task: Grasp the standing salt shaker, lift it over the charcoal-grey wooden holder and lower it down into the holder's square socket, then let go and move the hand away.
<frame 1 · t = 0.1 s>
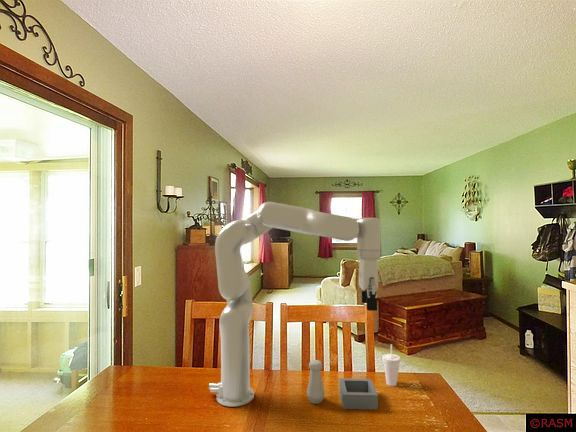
hand: (369, 306, 115), 31 cm above the table, tool pointing down, fingers open, 9 cm apart
socket holder: (357, 400, 115), on the table
salt shaker: (315, 401, 115), on the table
smoothie: (391, 384, 126), on the table
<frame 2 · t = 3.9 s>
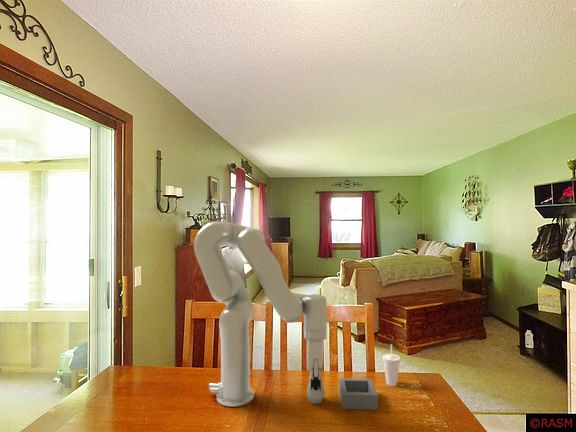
hand: (315, 387, 115), 4 cm above the table, tool pointing down, fingers closed on salt shaker, 3 cm apart
salt shaker: (315, 401, 115), on the table, touching gripper
everything else where it was.
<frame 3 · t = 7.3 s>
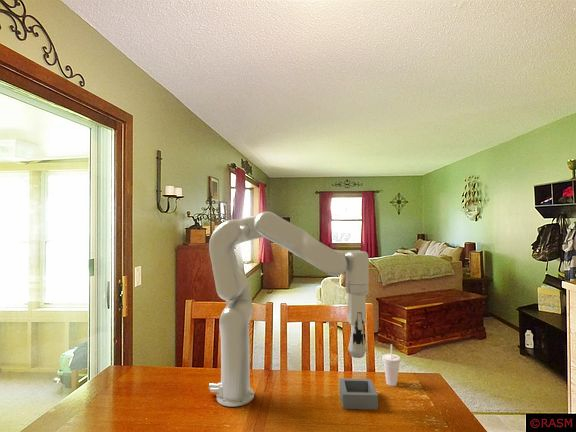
hand: (357, 343, 115), 19 cm above the table, tool pointing down, fingers closed on salt shaker, 3 cm apart
salt shaker: (357, 356, 115), point 15 cm above the table, touching gripper
everything else where it was.
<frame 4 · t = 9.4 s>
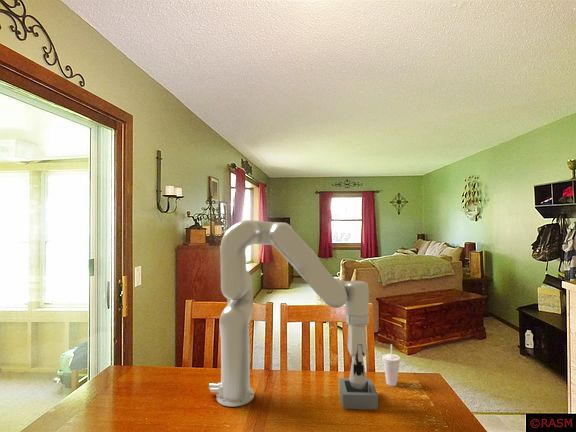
hand: (357, 373, 115), 9 cm above the table, tool pointing down, fingers closed on salt shaker, 3 cm apart
salt shaker: (357, 386, 115), point 4 cm above the table, touching gripper
everything else where it was.
when the fingers open (7 cm above the table, at t = 11.0 s): salt shaker drops 1 cm, resting on socket holder.
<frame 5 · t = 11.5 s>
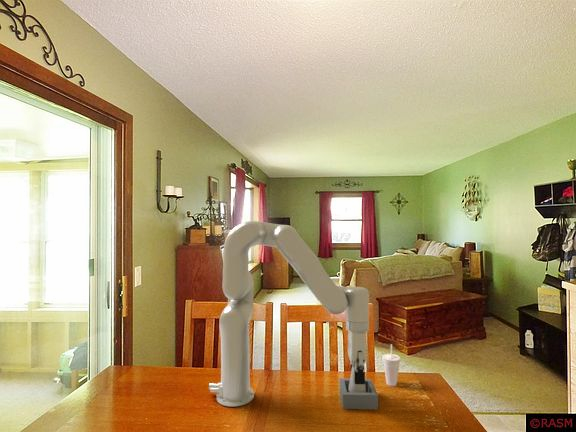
hand: (357, 377, 115), 8 cm above the table, tool pointing down, fingers open, 8 cm apart
salt shaker: (357, 397, 115), point 1 cm above the table, touching socket holder
everything else where it was.
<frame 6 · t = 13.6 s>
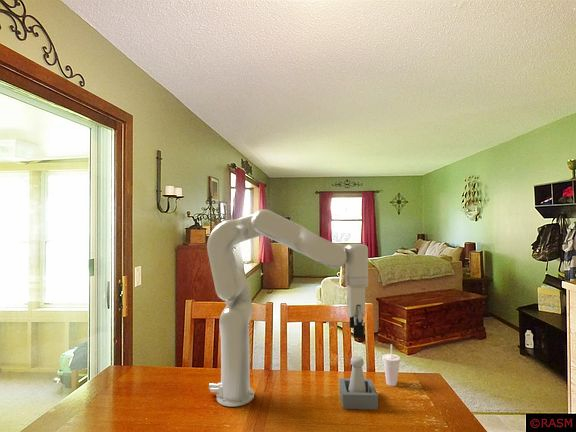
hand: (356, 332, 115), 22 cm above the table, tool pointing down, fingers open, 9 cm apart
nothing on the table moved.
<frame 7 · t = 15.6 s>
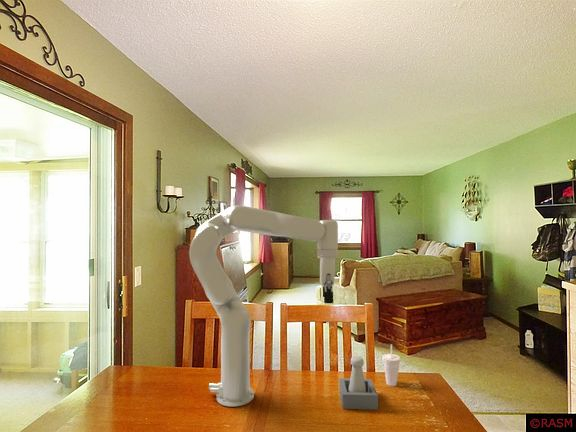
hand: (327, 299, 128), 30 cm above the table, tool pointing down, fingers open, 9 cm apart
nothing on the table moved.
at the end: salt shaker 0.2 cm off-centre on the socket holder, point 0.8 cm above the socket holder's base; salt shaker tilted 0°; the gripper is holding nothing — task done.
